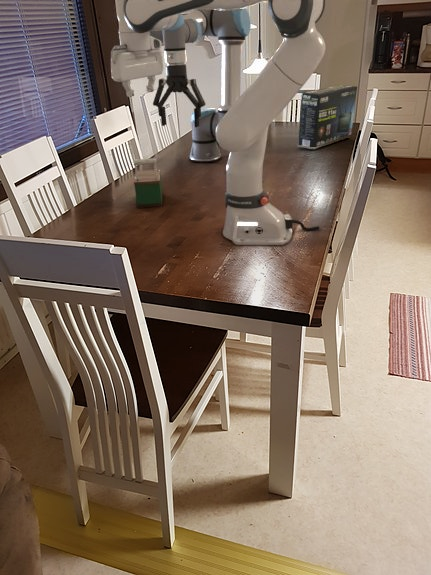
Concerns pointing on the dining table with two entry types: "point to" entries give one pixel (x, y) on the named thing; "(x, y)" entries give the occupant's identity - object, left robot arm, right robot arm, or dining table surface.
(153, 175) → the lid
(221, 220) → the dining table surface
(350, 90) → the router box
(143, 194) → the green box
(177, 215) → the dining table surface
